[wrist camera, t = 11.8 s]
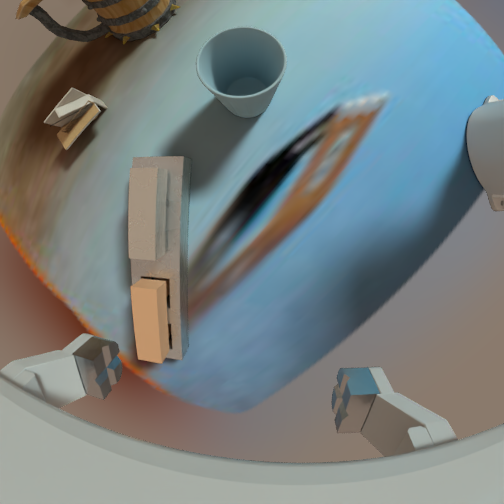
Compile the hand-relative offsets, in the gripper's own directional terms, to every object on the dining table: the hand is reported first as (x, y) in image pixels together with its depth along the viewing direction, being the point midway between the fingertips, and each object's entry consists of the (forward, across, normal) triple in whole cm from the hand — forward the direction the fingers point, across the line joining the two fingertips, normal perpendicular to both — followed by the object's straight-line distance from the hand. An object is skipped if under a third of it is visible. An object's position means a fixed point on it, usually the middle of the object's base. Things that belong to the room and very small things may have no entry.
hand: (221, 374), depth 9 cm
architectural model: (+25, +24, -16) cm, 38 cm away
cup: (+25, +3, -17) cm, 31 cm away
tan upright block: (+24, +12, +9) cm, 28 cm away
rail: (+24, +12, +3) cm, 27 cm away
